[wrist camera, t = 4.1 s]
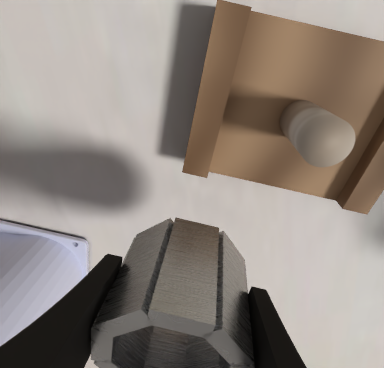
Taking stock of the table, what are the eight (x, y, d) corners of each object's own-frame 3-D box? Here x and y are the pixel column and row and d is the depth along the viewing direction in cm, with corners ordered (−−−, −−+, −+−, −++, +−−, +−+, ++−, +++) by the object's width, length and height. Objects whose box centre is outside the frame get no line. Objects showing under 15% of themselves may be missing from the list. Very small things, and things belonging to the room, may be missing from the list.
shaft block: (186, 159, 18) (173, 199, 13) (217, 6, 13) (216, -19, 8) (351, 196, 18) (400, 250, 13) (435, 57, 13) (556, 60, 9)
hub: (128, 287, 14) (91, 381, 10) (138, 208, 11) (90, 295, 7) (224, 310, 14) (224, 413, 10) (257, 236, 11) (274, 339, 7)
